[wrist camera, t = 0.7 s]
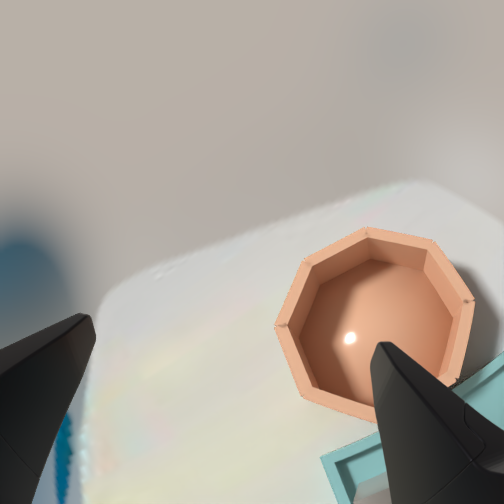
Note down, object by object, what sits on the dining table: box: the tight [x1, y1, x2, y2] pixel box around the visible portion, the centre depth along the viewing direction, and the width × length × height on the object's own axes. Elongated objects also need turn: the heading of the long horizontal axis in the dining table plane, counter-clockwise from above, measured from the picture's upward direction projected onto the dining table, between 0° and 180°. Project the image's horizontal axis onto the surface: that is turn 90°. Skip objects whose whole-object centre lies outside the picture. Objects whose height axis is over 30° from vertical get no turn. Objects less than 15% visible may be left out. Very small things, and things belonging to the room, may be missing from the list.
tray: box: [320, 351, 504, 504], centre depth 11 cm, size 14×16×1 cm
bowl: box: [274, 227, 475, 424], centre depth 18 cm, size 12×12×4 cm
